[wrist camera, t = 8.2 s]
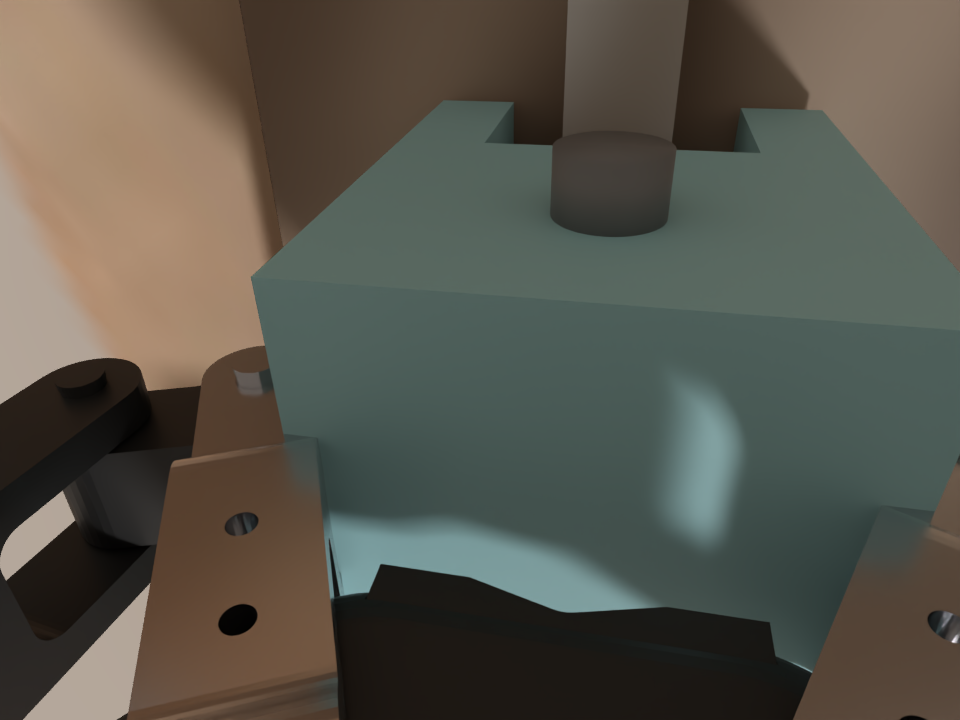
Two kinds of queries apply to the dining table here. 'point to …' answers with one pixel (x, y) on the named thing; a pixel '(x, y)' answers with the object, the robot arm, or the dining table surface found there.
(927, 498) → the cabinet block
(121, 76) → the dining table surface
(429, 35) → the cleat board
